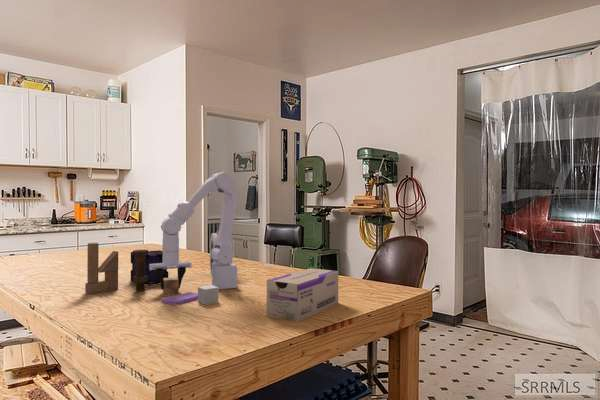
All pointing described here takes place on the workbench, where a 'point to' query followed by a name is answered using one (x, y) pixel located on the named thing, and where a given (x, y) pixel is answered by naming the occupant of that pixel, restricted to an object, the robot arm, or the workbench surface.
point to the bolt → (140, 269)
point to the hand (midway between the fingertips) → (170, 288)
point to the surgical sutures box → (301, 294)
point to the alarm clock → (212, 241)
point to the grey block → (208, 294)
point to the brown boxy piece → (171, 285)
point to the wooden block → (107, 266)
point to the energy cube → (150, 258)
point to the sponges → (180, 298)
